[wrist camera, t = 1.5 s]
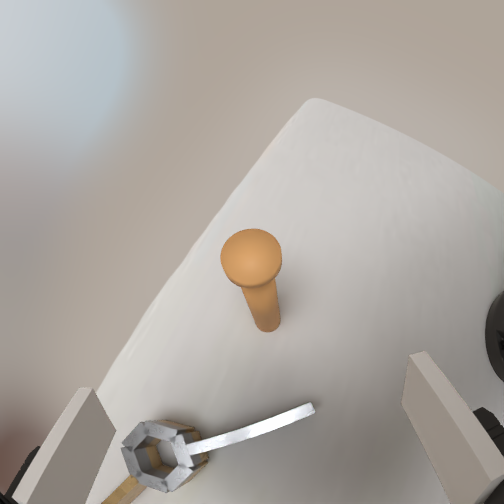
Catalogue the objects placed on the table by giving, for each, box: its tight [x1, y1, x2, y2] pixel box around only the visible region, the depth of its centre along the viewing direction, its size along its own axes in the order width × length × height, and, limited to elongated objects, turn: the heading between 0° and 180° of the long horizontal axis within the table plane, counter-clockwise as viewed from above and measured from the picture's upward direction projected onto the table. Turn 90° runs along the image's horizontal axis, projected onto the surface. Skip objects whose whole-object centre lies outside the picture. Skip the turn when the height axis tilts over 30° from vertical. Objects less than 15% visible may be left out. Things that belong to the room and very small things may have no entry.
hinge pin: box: [221, 229, 282, 332], centre depth 30 cm, size 4×4×17 cm
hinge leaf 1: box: [101, 420, 209, 504], centre depth 26 cm, size 8×21×6 cm, turn 141°
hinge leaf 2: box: [121, 402, 315, 493], centre depth 28 cm, size 20×8×6 cm, turn 111°
